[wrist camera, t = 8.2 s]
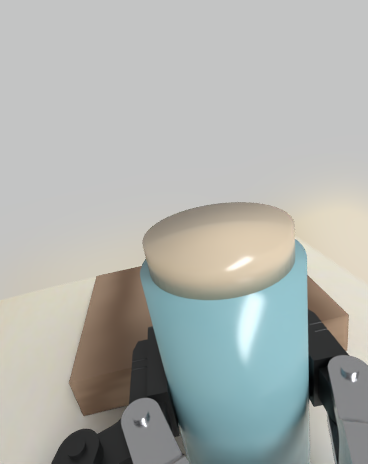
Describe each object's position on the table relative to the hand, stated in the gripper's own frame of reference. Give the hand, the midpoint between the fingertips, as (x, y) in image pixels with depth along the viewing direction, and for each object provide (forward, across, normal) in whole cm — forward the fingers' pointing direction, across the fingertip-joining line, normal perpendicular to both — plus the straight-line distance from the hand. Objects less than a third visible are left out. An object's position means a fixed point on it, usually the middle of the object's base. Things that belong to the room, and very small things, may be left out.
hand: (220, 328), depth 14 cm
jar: (-3, 0, +7) cm, 7 cm away
